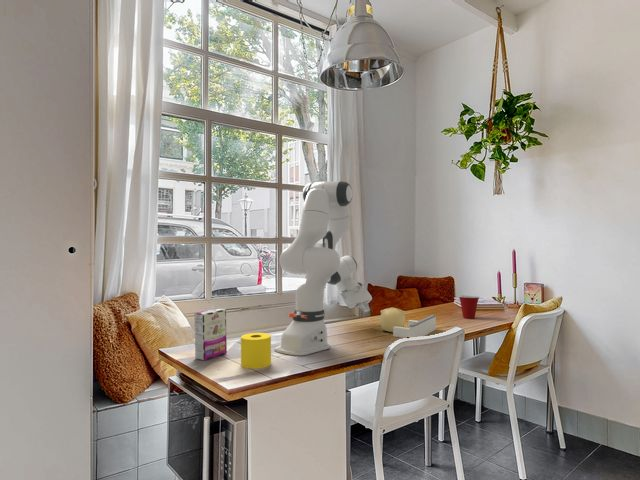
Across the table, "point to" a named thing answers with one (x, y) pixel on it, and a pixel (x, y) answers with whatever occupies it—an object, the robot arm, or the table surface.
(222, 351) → the candy bar box
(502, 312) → the table surface
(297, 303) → the robot arm
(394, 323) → the sculpture
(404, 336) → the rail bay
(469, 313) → the plastic cup
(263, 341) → the yellow toilet paper roll
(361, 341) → the table surface
